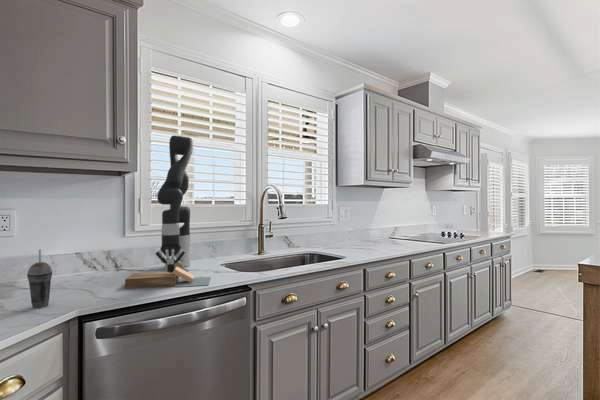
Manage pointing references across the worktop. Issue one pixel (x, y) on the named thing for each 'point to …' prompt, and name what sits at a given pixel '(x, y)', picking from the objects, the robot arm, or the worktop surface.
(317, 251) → the worktop surface
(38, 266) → the beverage cup
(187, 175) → the robot arm
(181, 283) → the mat
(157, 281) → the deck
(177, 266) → the ceramic mug
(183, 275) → the orange tan rectangular block
